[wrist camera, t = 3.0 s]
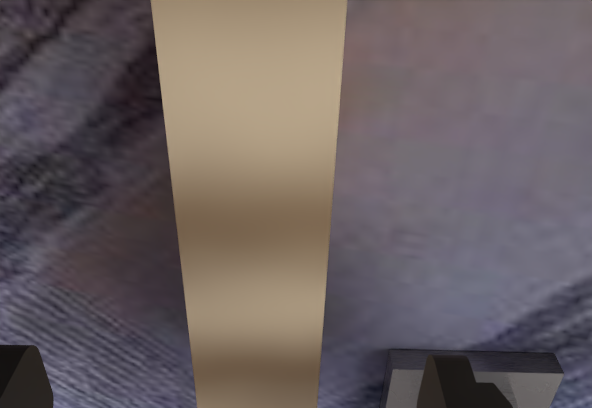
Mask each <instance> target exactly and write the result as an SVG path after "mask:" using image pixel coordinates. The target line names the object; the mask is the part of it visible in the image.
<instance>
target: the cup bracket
mask: <svg viewBox="0 0 592 408" xmlns="http://www.w3.org/2000/svg"><path fill="white" fill-rule="evenodd" d="M430 354H434V355H465V356H467V358H468V359H469V362H470V364H471V367H472V370H473V373H474V377H475V380H476V382H484V383H494V384H495V385H496V386H497V388H498V389H499V390H500V391H501V392H502V394H503V395H504V396H505V397H506V398H507V400H508V401H509V402H510V403H511V404H512V407H513V408H549V407H550V405H551V402H552V400H553V398H554V396H555V393H556V391H557V389H558V387H559V384H560V382H561V380H562V378H563V376H564V372H563V370H562V368H561V366H560V364H559V362H558V360H557V358H556V356H555V354H544V353H507V352H469V351H432V350H395V349H390V350H389V356H388V361H387V367H386V373H385V378H384V384H383V390H382V395H381V401H380V407H379V408H417V399H418V395H419V390H420V386H421V381H422V377H423V372H424V368H425V364H426V359H427V357H428V355H430Z"/></svg>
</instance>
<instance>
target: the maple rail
mask: <svg viewBox="0 0 592 408" xmlns="http://www.w3.org/2000/svg"><path fill="white" fill-rule="evenodd" d="M151 7H152V15H153V24H154V33H155V42H156V50H157V59H158V68H159V76H160V85H161V94H162V103H163V111H164V120H165V129H166V138H167V146H168V155H169V164H170V172H171V181H172V190H173V199H174V207H175V216H176V225H177V233H178V242H179V251H180V260H181V268H182V277H183V286H184V294H185V303H186V312H187V321H188V329H189V338H190V347H191V356H192V364H193V373H194V382H195V390H196V399H197V408H317V400H318V387H319V373H320V360H321V346H322V333H323V319H324V306H325V293H326V279H327V266H328V252H329V239H330V225H331V212H332V199H333V185H334V172H335V158H336V145H337V131H338V118H339V104H340V91H341V78H342V64H343V51H344V37H345V24H346V10H347V0H151Z"/></svg>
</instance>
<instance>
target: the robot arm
mask: <svg viewBox="0 0 592 408" xmlns="http://www.w3.org/2000/svg"><path fill="white" fill-rule="evenodd" d="M0 408H53V392H52V389H51V386H50V383H49V380H48V377H47V374H46V371H45V367H44V364H43V361H42V358H41V355H40V352H39V350H38V348H37V347H36V346H34V345H0ZM417 408H513V407H512V404H511V403H510V402H509V401H508V400H507V398H506V397H505V396H504V395H503V394H502V392H501V391H500V390H499V389H498V388H497V386H496V385H495V384H494V383H484V382H476V380H475V377H474V373H473V370H472V367H471V364H470V362H469V359H468V358H467V356H465V355H434V354H430V355H428V357H427V359H426V364H425V368H424V372H423V377H422V381H421V386H420V390H419V395H418V399H417Z"/></svg>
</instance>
